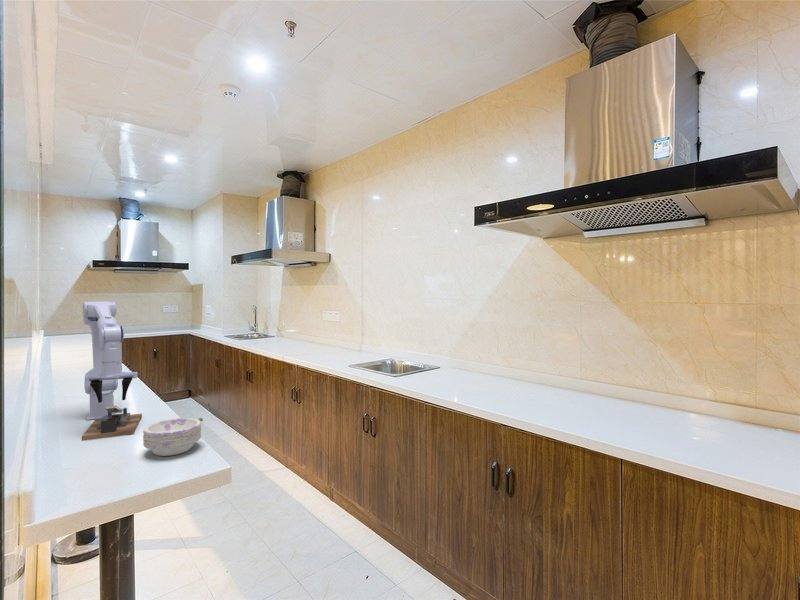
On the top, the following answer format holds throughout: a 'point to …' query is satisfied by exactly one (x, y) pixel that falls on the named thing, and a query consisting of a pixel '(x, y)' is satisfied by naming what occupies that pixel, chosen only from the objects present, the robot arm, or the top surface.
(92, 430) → the board
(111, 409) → the grey flat bar
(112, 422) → the clamp block
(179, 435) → the paper bowls
